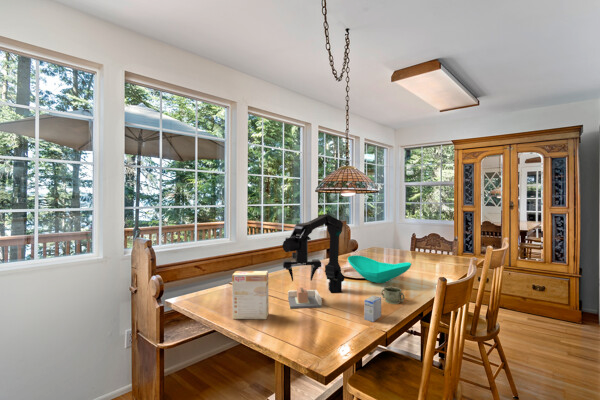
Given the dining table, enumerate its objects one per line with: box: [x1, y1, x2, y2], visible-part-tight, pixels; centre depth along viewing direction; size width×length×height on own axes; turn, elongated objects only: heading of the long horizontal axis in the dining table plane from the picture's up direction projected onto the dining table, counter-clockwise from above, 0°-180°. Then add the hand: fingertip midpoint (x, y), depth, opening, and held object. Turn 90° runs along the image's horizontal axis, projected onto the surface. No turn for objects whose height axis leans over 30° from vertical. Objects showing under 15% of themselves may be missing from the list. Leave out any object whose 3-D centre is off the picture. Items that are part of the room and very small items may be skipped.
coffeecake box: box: [231, 270, 270, 320], centre depth 137 cm, size 15×7×20 cm, turn 88°
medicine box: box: [363, 295, 382, 323], centre depth 135 cm, size 8×4×9 cm, turn 141°
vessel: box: [381, 286, 405, 305], centre depth 155 cm, size 12×9×6 cm
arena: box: [287, 289, 323, 310], centre depth 153 cm, size 15×14×4 cm
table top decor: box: [347, 255, 412, 284], centre depth 190 cm, size 40×28×13 cm
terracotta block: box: [296, 287, 308, 303], centre depth 154 cm, size 8×4×5 cm, turn 6°
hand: (301, 280), depth 154 cm, fingers open, 9 cm apart
